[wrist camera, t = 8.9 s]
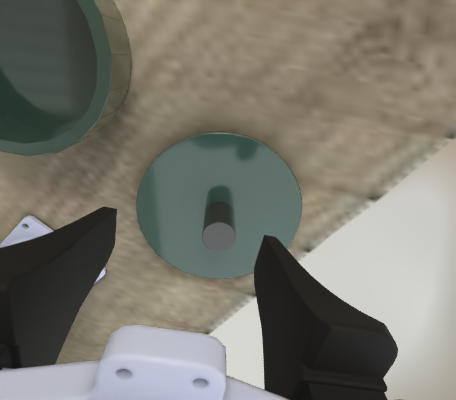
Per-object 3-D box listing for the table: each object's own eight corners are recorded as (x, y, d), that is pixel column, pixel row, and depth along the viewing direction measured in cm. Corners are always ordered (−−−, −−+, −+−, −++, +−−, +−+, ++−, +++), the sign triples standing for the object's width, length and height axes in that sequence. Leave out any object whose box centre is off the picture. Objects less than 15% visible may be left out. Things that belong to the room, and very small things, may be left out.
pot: (65, 169, 23) (36, 191, 19) (-91, 43, 19) (-164, 41, 15) (168, 56, 20) (155, 56, 16) (4, -125, 16) (-61, -178, 12)
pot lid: (216, 293, 29) (215, 330, 25) (106, 204, 24) (84, 233, 20) (330, 212, 25) (349, 241, 21) (224, 90, 20) (224, 98, 17)
